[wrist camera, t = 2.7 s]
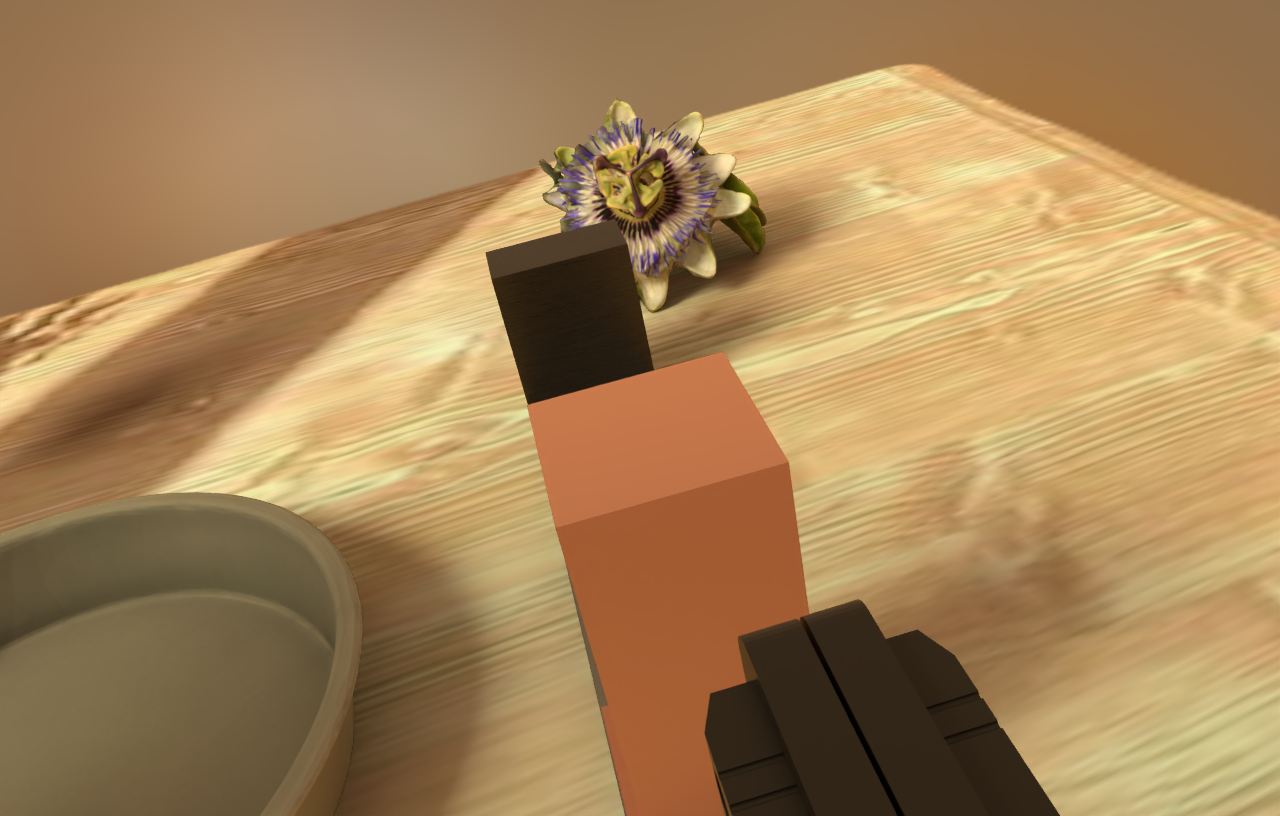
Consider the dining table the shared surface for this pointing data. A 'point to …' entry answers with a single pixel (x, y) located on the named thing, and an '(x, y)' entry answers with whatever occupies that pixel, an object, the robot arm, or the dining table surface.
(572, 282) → the rail
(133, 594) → the cake pan
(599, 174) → the passion flower
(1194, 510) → the dining table surface
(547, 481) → the block
